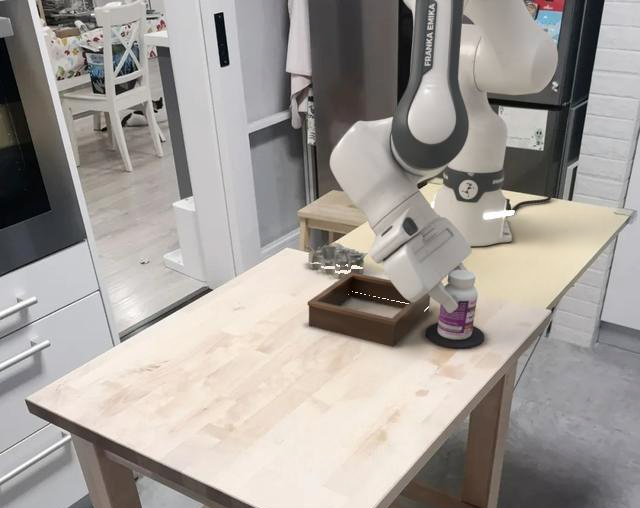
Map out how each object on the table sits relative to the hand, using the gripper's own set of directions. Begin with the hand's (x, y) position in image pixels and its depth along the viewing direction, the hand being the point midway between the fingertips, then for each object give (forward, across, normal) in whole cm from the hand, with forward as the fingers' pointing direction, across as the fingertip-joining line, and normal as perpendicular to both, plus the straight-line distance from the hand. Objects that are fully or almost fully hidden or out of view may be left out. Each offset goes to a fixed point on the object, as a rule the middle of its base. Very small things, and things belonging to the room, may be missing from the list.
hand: (462, 301), depth 107 cm
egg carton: (-17, -16, -25) cm, 35 cm away
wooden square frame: (-6, +1, -14) cm, 16 cm away
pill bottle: (+4, 0, -4) cm, 6 cm away
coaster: (+4, 0, -5) cm, 6 cm away
